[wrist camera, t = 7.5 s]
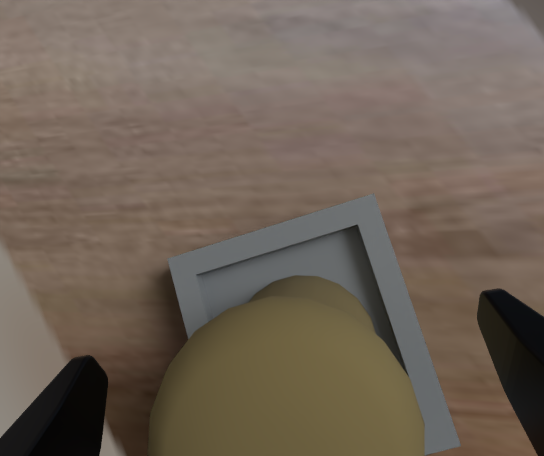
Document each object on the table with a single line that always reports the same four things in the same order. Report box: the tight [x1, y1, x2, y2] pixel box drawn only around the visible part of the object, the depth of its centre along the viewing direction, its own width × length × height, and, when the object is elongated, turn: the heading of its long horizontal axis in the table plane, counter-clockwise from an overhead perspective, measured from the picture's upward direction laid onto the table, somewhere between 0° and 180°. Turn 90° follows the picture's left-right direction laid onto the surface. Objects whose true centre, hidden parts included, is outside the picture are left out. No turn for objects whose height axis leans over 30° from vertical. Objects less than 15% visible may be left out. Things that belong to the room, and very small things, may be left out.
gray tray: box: [168, 194, 461, 455], centre depth 18 cm, size 10×9×2 cm
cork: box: [147, 275, 425, 456], centre depth 12 cm, size 6×6×11 cm
